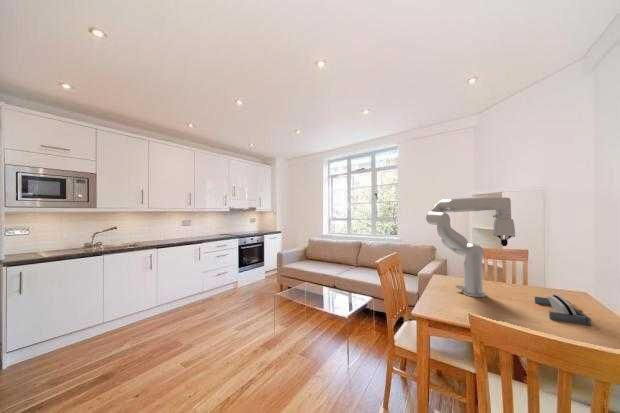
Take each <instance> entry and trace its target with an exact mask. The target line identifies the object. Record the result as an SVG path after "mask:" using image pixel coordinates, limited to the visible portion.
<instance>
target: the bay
mask: <svg viewBox="0 0 620 413" xmlns="http://www.w3.org/2000/svg"><path fill="white" fill-rule="evenodd" d="M565 300H566V301H568V302H569V303H570V304H571V305H572V307H573V309H574V310H575V312H576V314H577V315H571V314H564V313H558V312H557V311H550V310H549V311H548V314H549V320H550V321H557V322H563V323H570V324H571V323H572V324H578V325H582V326H587V327H592V325H591V324H592V323H591V317H589V315H587V314H585V313H584V311H583V309H581V308H580V307H579V306H577V305H576V304H574V303H571V302H570V301H569V300H567V299H565ZM534 303H535V304H537V305H544V306H545V305H546V306H551V303H550V301H549V299H548V297H541V296H534Z"/></svg>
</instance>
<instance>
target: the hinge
mask: <svg viewBox="0 0 620 413" xmlns="http://www.w3.org/2000/svg"><path fill="white" fill-rule="evenodd" d="M546 298H548V299H549V301H550V303H551V305H550V306H551V307H552V308H553V310H555V312H557V313H564V314H571V315H577V314H576V312H575V310H574V309H573V307H572V305H571V304H572V303H571V302H570V301H569V300H567V299H565V298H564V297H563V296H561V295H559V294H553V295H552V294H549V295H548V296H547V297H546ZM566 300H567V301H566ZM568 301H569V302H570V303H571V304H570V303H569V302H568Z"/></svg>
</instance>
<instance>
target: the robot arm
mask: <svg viewBox="0 0 620 413" xmlns="http://www.w3.org/2000/svg"><path fill="white" fill-rule="evenodd" d="M511 203H512V201H511V198H510V197H501V196H500V197H499V196H496V197H465V198H464V197H461V198H446V199H445V198H444V199H441V200H439V201H438V202H437V203H436V204H435V205H434V206H433V208H431V209H430V210H429V212H428V213H427V214H426V216H425V219H426V222H427V223H428V224H430V225H432V226H433V225H434V226H436V229H437V230H436V231H437V235H438V236H439V237H440V238H441V243H442V245H443V246H445V247H446V248H448V249H449V250H450V251H451V252H453V253H455V254H456V255H459V256H461V257H464V261H463V265H462V266H463V283H462V285H460V284H456V285H455V288H456V289H457V290H461V293H462V294H464V295H465V296H469V297H472V298H473V297H474V298H484V297H486V296H487V293H486V292H485V291H484V290H483V258H484V249H483V247H482V246H481V245H479V244H478V243H474V242H469V241H468V240H467V238H466V237H465V236H464V235H462V234H461V233H459V232H458V231H457V230H455V229H454V228H452V226H451V217H450V215H449V214H448V213H463V212H465V213H467V212H480V211H481V212H482V211H495V214H493V215H492V217H493V218H494V220H493V229H492V230H493V231H492V232H493V237H495V238H499V239H500V245H502V247H507V246H508V240H510V239H512V238H515V237H516V228H515V222H514V219H512V204H511Z"/></svg>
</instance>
